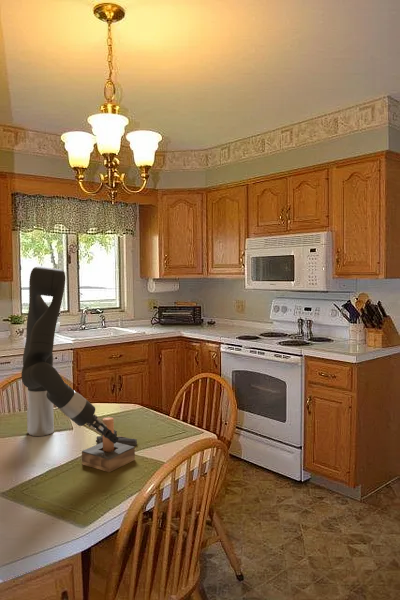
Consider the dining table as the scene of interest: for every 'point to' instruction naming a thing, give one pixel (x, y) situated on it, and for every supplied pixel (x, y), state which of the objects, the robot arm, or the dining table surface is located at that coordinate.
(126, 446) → the socket
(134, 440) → the pistol
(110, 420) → the peg
